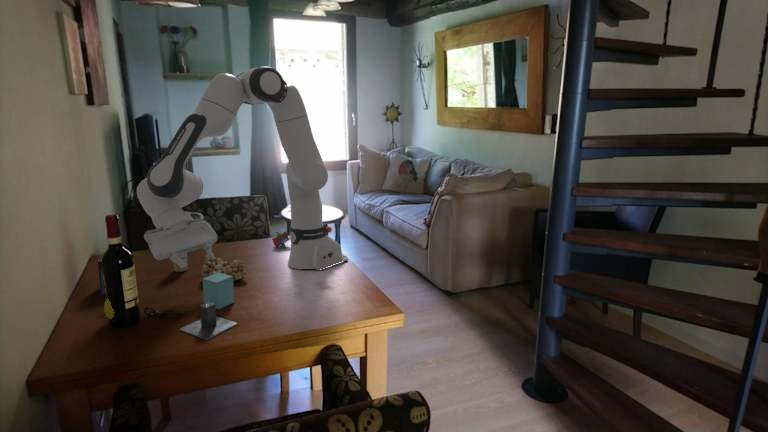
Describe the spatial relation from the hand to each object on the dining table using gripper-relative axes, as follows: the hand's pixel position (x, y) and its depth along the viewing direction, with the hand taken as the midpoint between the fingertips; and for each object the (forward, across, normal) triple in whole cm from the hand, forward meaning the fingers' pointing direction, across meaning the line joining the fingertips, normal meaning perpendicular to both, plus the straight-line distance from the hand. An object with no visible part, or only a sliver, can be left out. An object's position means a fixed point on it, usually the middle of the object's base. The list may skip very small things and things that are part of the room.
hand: (198, 262), depth 135 cm
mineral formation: (+4, +14, +13) cm, 19 cm away
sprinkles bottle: (-10, +13, +26) cm, 31 cm away
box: (-12, -9, +28) cm, 32 cm away
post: (+20, -12, -4) cm, 24 cm away
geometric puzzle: (-3, +53, +19) cm, 57 cm away
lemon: (+4, -22, +12) cm, 25 cm away
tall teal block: (+13, 0, +2) cm, 14 cm away
